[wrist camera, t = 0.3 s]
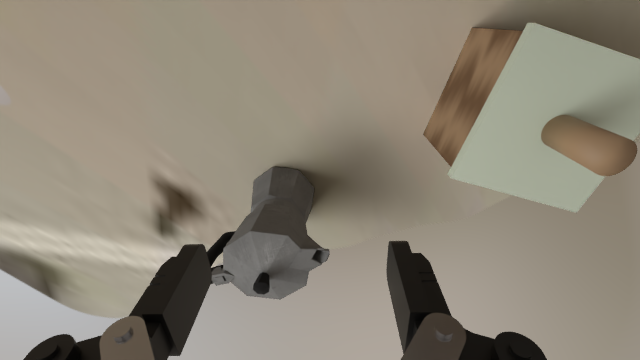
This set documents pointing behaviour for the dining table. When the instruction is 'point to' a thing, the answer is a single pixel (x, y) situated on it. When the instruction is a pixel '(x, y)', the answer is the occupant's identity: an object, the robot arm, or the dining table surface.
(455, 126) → the box
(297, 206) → the coffeepot
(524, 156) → the lid
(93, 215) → the dining table surface
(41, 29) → the dining table surface
